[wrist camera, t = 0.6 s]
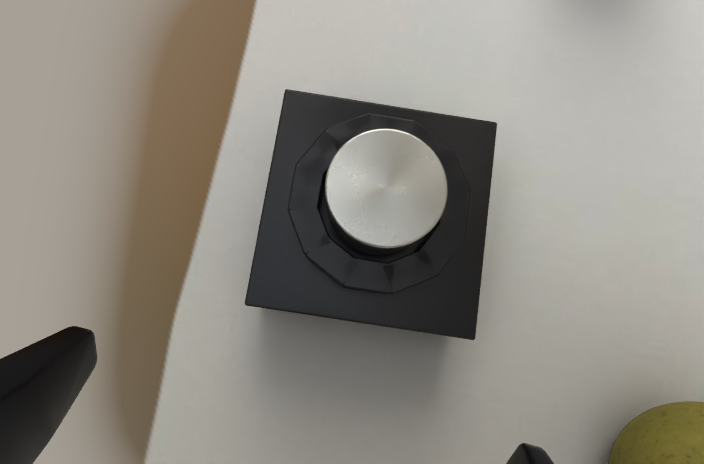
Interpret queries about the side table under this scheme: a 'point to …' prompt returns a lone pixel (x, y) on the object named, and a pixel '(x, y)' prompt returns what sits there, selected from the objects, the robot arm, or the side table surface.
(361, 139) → the hob knob
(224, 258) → the side table surface
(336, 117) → the hob block
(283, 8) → the side table surface
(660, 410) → the apple
